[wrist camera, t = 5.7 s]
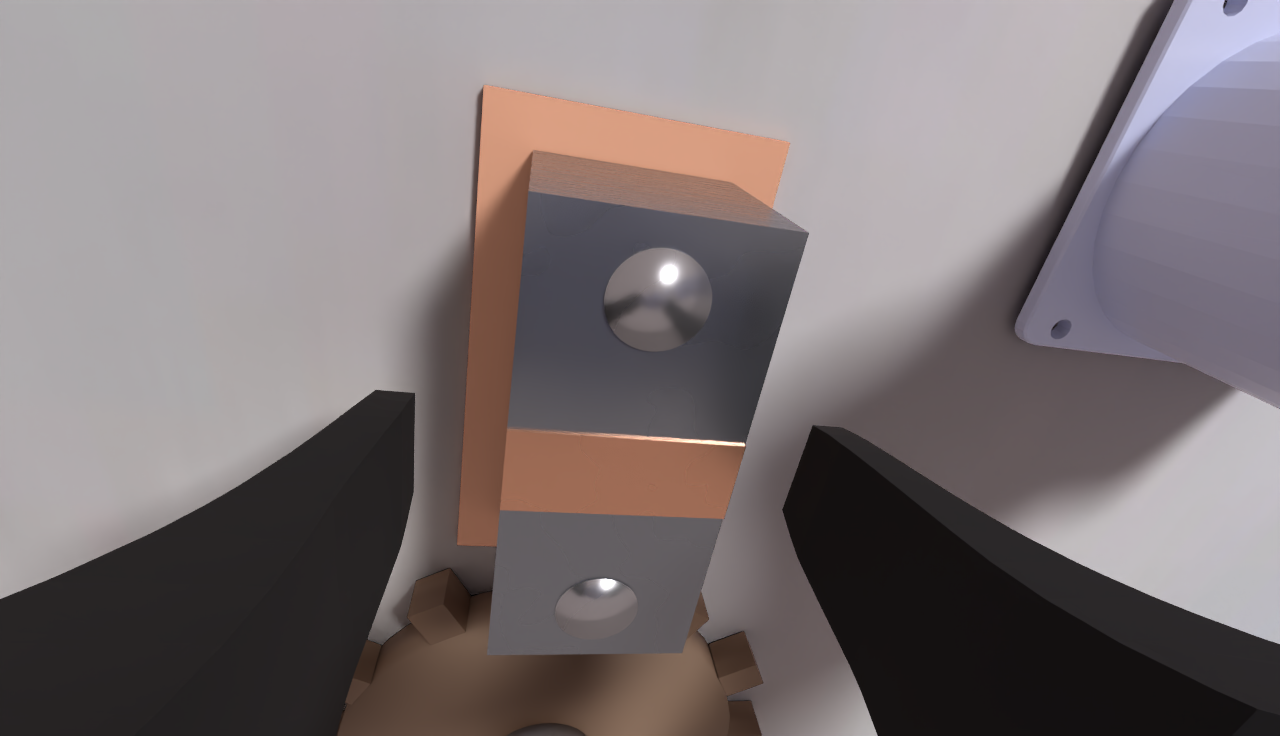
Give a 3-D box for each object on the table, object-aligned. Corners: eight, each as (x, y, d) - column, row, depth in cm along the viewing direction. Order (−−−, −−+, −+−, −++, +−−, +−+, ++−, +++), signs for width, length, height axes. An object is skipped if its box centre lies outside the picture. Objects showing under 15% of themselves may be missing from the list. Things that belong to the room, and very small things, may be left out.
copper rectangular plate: (786, 141, 12) (790, 142, 12) (676, 547, 17) (677, 552, 17) (484, 84, 11) (483, 85, 11) (457, 540, 16) (457, 545, 15)
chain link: (730, 181, 12) (810, 233, 8) (651, 521, 16) (682, 655, 12) (533, 149, 11) (528, 191, 8) (500, 515, 15) (486, 657, 12)
